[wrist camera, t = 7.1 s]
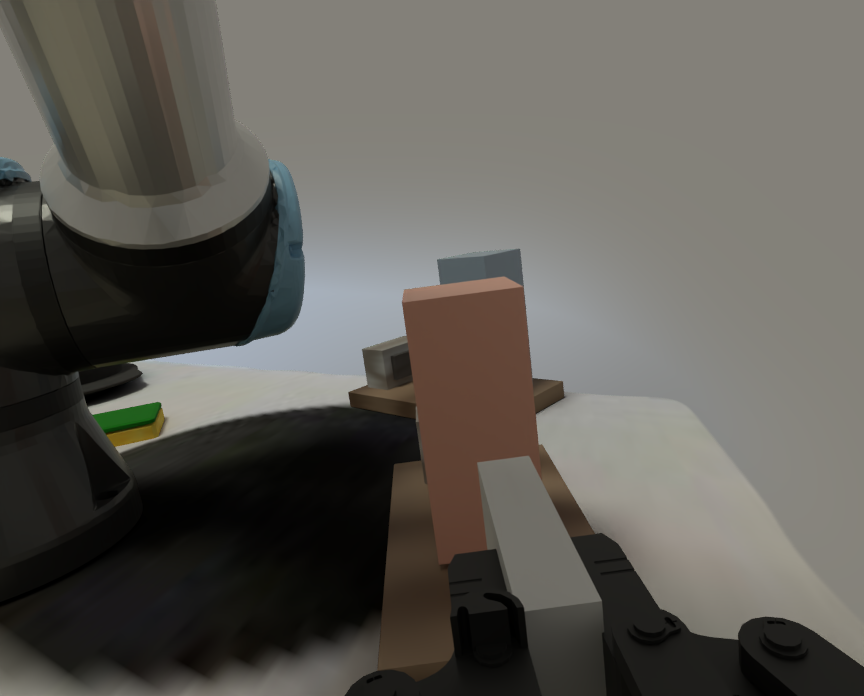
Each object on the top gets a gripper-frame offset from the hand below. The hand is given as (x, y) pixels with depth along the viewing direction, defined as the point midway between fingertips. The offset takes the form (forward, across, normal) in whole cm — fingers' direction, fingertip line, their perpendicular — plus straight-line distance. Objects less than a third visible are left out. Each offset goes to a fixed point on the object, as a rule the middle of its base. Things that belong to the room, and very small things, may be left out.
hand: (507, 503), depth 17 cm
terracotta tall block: (+11, 0, -7) cm, 13 cm away
